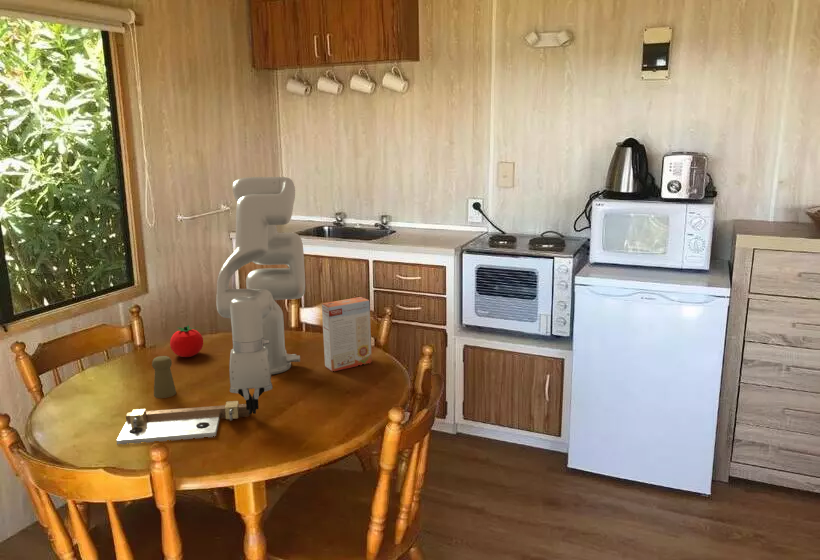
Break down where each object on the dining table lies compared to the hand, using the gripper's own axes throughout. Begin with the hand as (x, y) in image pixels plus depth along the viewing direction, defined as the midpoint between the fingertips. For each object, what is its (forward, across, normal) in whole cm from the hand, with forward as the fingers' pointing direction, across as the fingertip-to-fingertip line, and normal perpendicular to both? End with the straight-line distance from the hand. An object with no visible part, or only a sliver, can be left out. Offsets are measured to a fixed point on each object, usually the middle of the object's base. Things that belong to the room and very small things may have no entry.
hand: (252, 411), depth 177 cm
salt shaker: (+2, +26, -22) cm, 34 cm away
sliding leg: (+1, +5, +1) cm, 5 cm away
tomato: (+2, +23, -53) cm, 58 cm away
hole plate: (+2, +16, +1) cm, 17 cm away
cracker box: (+2, -28, -34) cm, 44 cm away
